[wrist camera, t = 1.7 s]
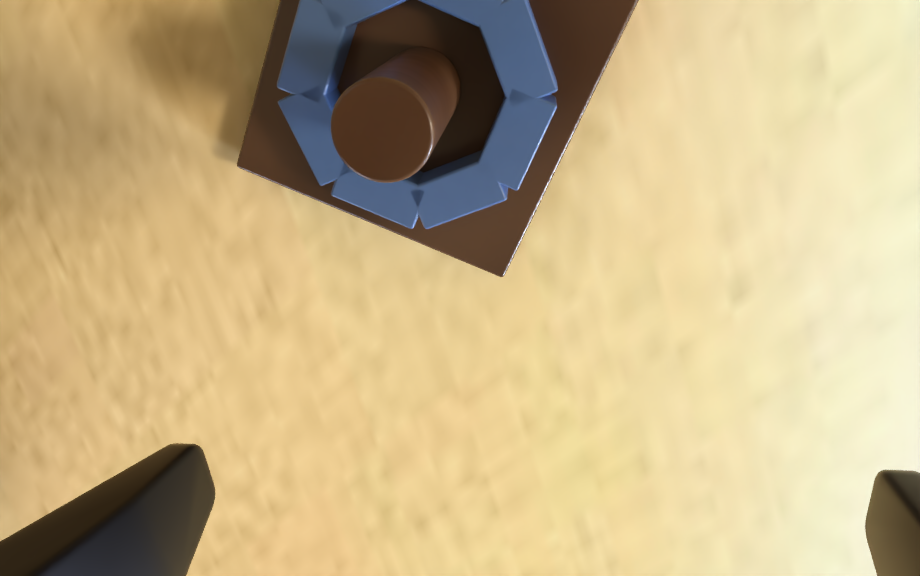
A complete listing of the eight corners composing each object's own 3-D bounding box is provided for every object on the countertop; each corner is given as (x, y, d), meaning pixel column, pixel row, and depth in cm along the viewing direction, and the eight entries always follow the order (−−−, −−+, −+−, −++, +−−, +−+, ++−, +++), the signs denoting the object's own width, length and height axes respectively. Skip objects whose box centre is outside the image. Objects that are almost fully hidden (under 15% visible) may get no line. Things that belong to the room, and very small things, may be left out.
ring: (270, 152, 19) (253, 164, 17) (341, -101, 16) (326, -105, 15) (488, 244, 19) (485, 261, 18) (594, 14, 16) (598, 18, 15)
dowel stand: (246, 159, 20) (140, 231, 14) (328, -149, 16) (228, -202, 11) (504, 267, 20) (492, 374, 15) (637, -7, 17) (682, 8, 11)
